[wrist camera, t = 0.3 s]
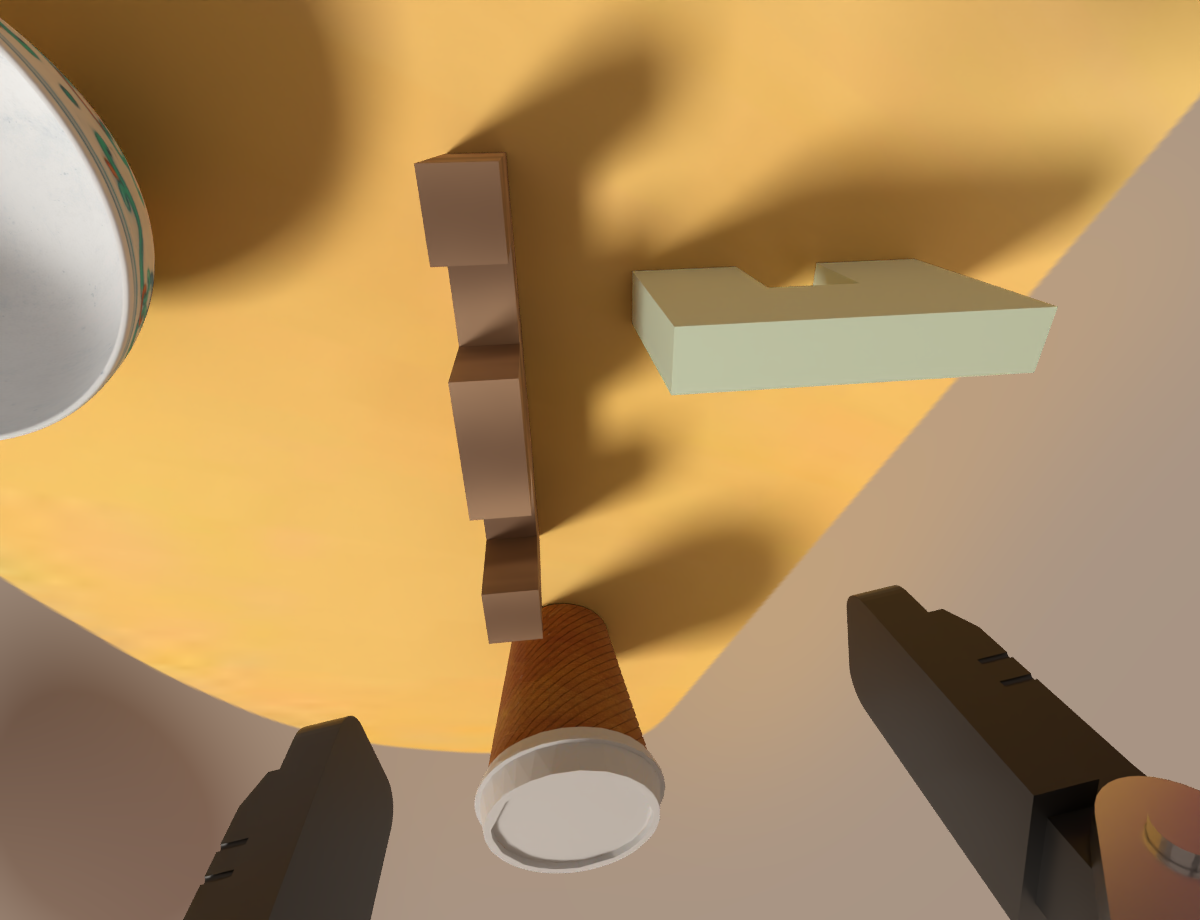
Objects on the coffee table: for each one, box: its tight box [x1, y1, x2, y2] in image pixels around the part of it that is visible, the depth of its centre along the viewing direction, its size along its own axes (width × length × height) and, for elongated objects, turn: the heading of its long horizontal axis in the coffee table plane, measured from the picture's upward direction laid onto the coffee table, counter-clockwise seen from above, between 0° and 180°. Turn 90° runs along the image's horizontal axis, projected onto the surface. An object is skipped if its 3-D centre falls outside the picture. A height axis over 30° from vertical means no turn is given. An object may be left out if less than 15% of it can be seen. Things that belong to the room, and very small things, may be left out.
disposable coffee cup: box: [475, 604, 665, 873], centre depth 34 cm, size 10×10×12 cm
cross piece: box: [632, 259, 1058, 395], centre depth 25 cm, size 14×2×9 cm, turn 91°
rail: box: [414, 152, 543, 644], centre depth 26 cm, size 20×2×8 cm, turn 1°
